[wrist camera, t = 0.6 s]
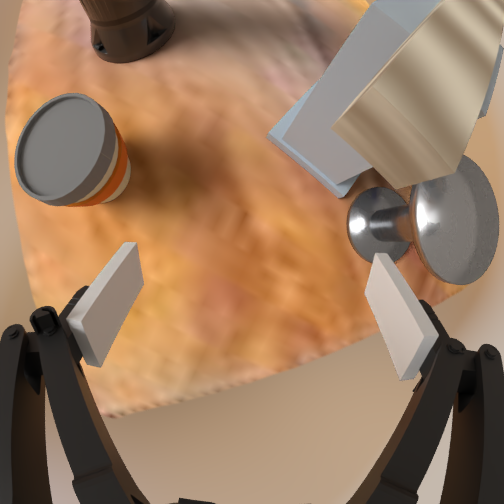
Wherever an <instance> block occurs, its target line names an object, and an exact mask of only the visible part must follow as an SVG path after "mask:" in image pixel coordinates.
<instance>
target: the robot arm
mask: <svg viewBox="0 0 504 504" xmlns="http://www.w3.org/2000/svg"><path fill="white" fill-rule="evenodd" d="M79 1H80V3H81V4H82V6H83V8H84V10H85V12H86V14H87V15H88V17H89V19H90V21H91V43H92V46H93V48H94V50H95V52H96V53H97V55H98V56H99V57H100V58H101V59H103V60H105V61H108V62H112V63H125V62H131V61H135V60H138V59H141V58H143V57H145V56H147V55H149V54H151V53H153V52H155V51H156V50H158V49H159V48H160V47H161V46H163V45H164V44H165V43H166V42H167V41H168V39H169V38H170V37H171V35H172V33H173V31H174V28H175V19H174V14H173V11H172V9H171V7H170V6H169V5H168V3H167V2H166V1H165V0H79ZM143 285H144V281H143V276H142V270H141V265H140V259H139V253H138V247H137V242H124V243H123V245H122V246H121V247H120V248H119V250H118V251H117V252H116V253H115V254H114V256H113V257H112V258H111V259H110V261H109V262H108V263H107V264H106V266H105V267H104V268H103V270H102V271H101V272H100V273H99V275H98V276H97V277H96V279H95V280H94V281H93V282H92V284H91V285H90V286H84V287H82V288H81V289H80V290H78V291H77V292H76V294H75V295H74V296H73V297H72V299H71V300H70V301H69V303H68V304H67V305H66V307H65V308H64V310H63V311H62V312H61V314H60V315H59V316H58V315H57V313H56V310H55V309H54V308H53V307H51V306H44V307H41V308H39V309H37V310H35V311H34V312H33V313H32V315H31V316H30V322H31V325H32V327H33V329H34V331H35V332H28V333H26V331H25V329H24V328H23V326H22V325H20V324H15V325H11V326H9V327H8V328H7V329H6V330H5V331H4V332H3V335H2V337H1V341H0V504H53V503H52V497H51V491H50V484H49V476H48V467H47V455H46V440H45V385H46V389H47V393H48V398H49V402H50V406H51V409H52V413H53V417H54V420H55V424H56V427H57V430H58V433H59V436H60V439H61V442H62V445H63V448H64V451H65V454H66V456H67V459H68V462H69V464H70V467H71V470H72V472H73V475H74V480H73V481H72V485H73V488H74V491H75V493H76V496H77V498H78V500H79V502H80V504H150V503H149V501H148V500H147V499H146V497H145V496H144V495H143V494H142V492H141V491H140V490H139V488H138V487H137V485H136V483H135V482H134V480H133V478H132V477H131V475H130V473H129V471H128V470H127V468H126V466H125V464H124V462H123V461H122V459H121V457H120V455H119V453H118V451H117V449H116V447H115V445H114V443H113V441H112V439H111V437H110V435H109V433H108V431H107V429H106V426H105V424H104V422H103V420H102V417H101V415H100V413H99V411H98V408H97V406H96V403H95V401H94V398H93V396H92V393H91V391H90V388H89V386H88V383H87V380H86V377H85V375H84V372H83V369H82V366H81V364H80V360H81V358H82V356H83V358H84V360H85V362H86V364H87V365H91V366H96V367H100V368H101V366H102V364H103V362H104V360H105V358H106V356H107V354H108V352H109V350H110V348H111V346H112V344H113V342H114V340H115V338H116V336H117V334H118V332H119V330H120V328H121V326H122V324H123V322H124V320H125V318H126V316H127V314H128V312H129V311H130V309H131V307H132V305H133V303H134V301H135V299H136V297H137V296H138V294H139V292H140V290H141V288H142V286H143ZM364 294H365V296H366V298H367V300H368V303H369V305H370V307H371V310H372V312H373V314H374V316H375V319H376V321H377V324H378V326H379V328H380V331H381V333H382V336H383V338H384V340H385V343H386V346H387V348H388V351H389V353H390V355H391V358H392V361H393V364H394V366H395V369H396V372H397V374H398V377H399V380H400V381H401V380H409V379H414V378H415V376H416V375H417V373H418V371H419V370H420V373H421V375H422V377H421V379H420V381H419V382H418V384H417V385H416V387H415V388H414V390H413V392H414V393H413V396H412V398H411V400H410V402H409V404H408V406H407V408H406V410H405V412H404V414H403V416H402V418H401V420H400V422H399V424H398V426H397V427H396V429H395V431H394V433H393V435H392V436H391V438H390V440H389V442H388V443H387V445H386V447H385V448H384V450H383V452H382V453H381V455H380V457H379V458H378V460H377V461H376V463H375V465H374V466H373V468H372V469H371V471H370V472H369V474H368V475H367V477H366V478H365V480H364V481H363V483H362V484H361V485H360V487H359V488H358V490H357V491H356V492H355V494H354V495H353V497H352V498H351V499H350V500H349V501H348V502H347V503H346V504H416V503H417V501H418V495H417V490H418V488H419V486H420V484H421V482H422V480H423V478H424V476H425V474H426V472H427V470H428V468H429V465H430V463H431V461H432V459H433V456H434V454H435V452H436V449H437V447H438V445H439V442H440V439H441V437H442V434H443V432H444V429H445V426H446V424H447V421H448V418H449V415H450V412H451V409H452V406H453V419H452V420H453V421H452V431H451V441H450V449H449V457H448V463H447V470H446V475H445V481H444V486H443V491H442V495H441V500H440V504H504V372H503V365H502V360H501V355H500V353H499V351H498V350H497V349H496V348H495V347H494V346H492V345H490V344H483V345H482V346H481V347H480V348H479V350H478V351H477V352H476V351H470V350H466V348H465V346H464V345H463V344H462V343H461V342H460V341H458V340H457V339H453V338H450V337H449V335H448V334H447V332H446V330H445V329H444V327H443V325H442V324H441V322H440V321H439V320H438V317H437V316H436V314H435V312H434V311H433V309H432V308H431V306H430V305H429V304H428V303H426V302H425V301H424V300H418V299H417V298H416V296H415V294H414V293H413V291H412V290H411V288H410V287H409V285H408V283H407V282H406V280H405V279H404V277H403V276H402V274H401V273H400V271H399V270H398V268H397V267H396V265H395V264H394V262H393V261H392V260H391V258H390V257H389V255H388V254H387V253H375V256H374V260H373V264H372V268H371V271H370V275H369V279H368V282H367V286H366V290H365V293H364ZM171 504H215V503H212V502H204V501H197V500H190V499H183V498H179V501H178V503H171Z"/></svg>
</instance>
